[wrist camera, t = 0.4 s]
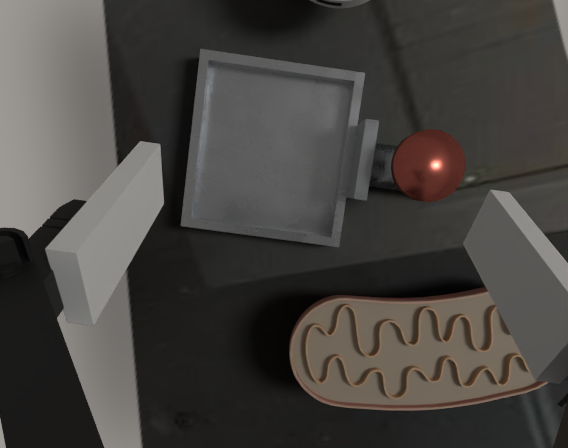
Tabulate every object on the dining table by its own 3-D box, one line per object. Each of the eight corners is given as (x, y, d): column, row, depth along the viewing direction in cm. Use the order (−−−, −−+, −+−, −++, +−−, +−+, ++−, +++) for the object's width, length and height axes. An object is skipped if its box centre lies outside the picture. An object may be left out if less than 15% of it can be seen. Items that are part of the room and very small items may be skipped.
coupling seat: (186, 223, 35) (161, 233, 27) (205, 57, 33) (184, 20, 26) (422, 255, 35) (460, 273, 28) (449, 93, 34) (497, 67, 27)
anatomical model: (532, 267, 36) (573, 280, 31) (532, 370, 37) (573, 399, 32) (284, 285, 36) (285, 302, 31) (291, 388, 36) (293, 420, 32)
